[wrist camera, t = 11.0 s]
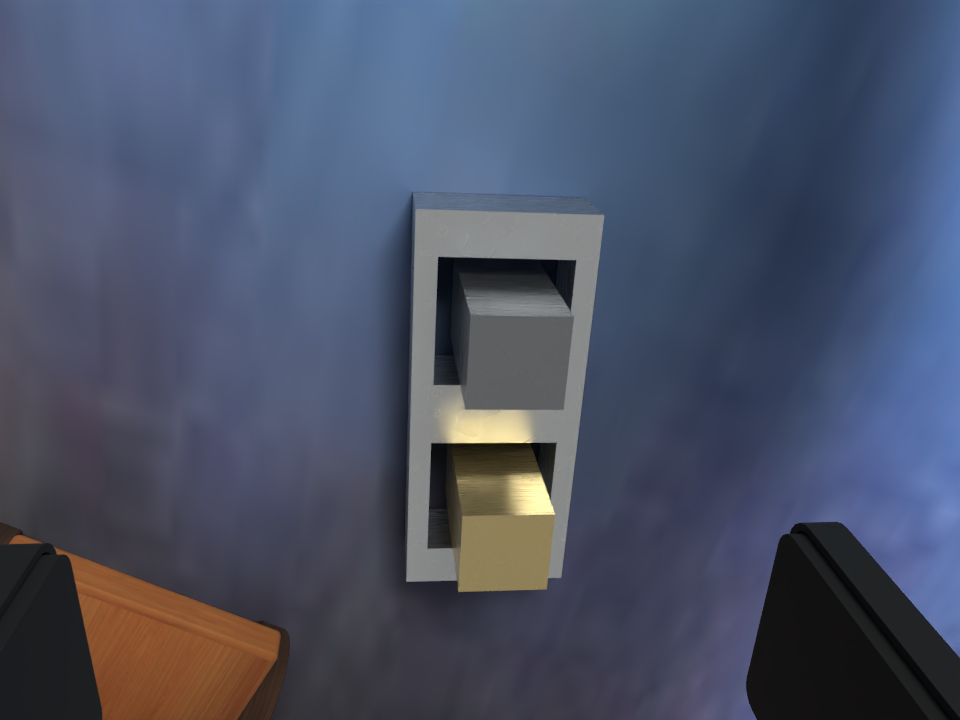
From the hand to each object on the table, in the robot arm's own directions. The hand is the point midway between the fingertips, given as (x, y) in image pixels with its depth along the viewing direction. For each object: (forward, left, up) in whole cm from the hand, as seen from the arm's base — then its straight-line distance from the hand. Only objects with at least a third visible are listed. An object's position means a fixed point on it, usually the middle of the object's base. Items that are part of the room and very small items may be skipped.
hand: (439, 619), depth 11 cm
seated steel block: (-4, +5, -28) cm, 28 cm away
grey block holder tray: (-4, +9, -28) cm, 29 cm away
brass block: (-5, +14, -28) cm, 31 cm away
